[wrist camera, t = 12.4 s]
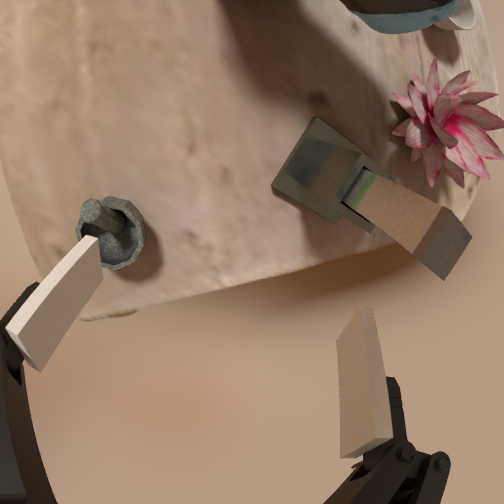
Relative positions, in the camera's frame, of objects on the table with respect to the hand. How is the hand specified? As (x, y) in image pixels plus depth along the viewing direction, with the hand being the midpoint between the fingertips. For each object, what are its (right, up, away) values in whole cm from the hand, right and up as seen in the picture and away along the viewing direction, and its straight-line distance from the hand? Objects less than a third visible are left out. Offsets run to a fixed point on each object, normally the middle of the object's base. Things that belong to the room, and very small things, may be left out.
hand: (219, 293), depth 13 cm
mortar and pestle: (-18, +8, +26) cm, 33 cm away
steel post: (+14, +11, +23) cm, 29 cm away
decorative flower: (+31, +25, +26) cm, 48 cm away
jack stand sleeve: (+12, +14, +28) cm, 34 cm away
